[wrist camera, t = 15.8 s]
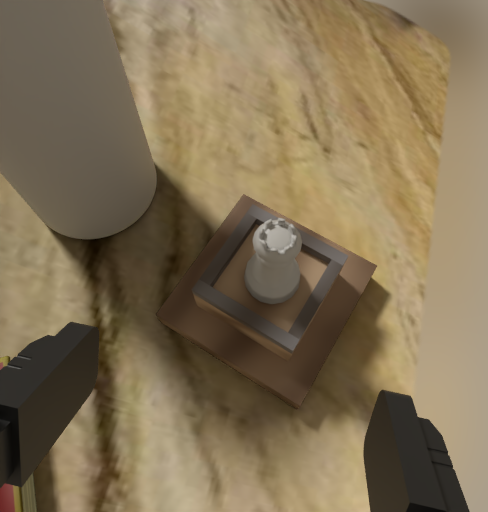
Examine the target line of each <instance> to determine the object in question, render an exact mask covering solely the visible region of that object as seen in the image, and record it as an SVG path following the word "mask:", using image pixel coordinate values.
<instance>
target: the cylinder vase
mask: <svg viewBox="0 0 488 512" xmlns="http://www.w3.org/2000/svg"><path fill="white" fill-rule="evenodd" d="M0 172H1V174H2V175H3V176H4V177H5V178H6V179H7V181H8V182H9V183H10V184H11V185H12V186H13V187H14V189H15V190H16V191H17V192H18V193H19V194H20V196H21V197H22V198H23V199H24V200H25V201H26V203H27V204H28V205H29V206H30V207H31V208H32V209H33V211H34V212H35V213H36V214H37V215H38V216H39V218H40V219H41V220H42V221H43V222H44V223H45V224H46V225H47V226H48V227H50V228H51V229H53V230H54V231H56V232H58V233H60V234H62V235H65V236H68V237H71V238H77V239H98V238H103V237H107V236H111V235H113V234H116V233H118V232H120V231H122V230H124V229H126V228H128V227H129V226H131V225H132V224H133V223H134V222H136V221H137V220H138V219H139V218H140V217H141V216H142V215H143V214H144V212H145V211H146V210H147V208H148V207H149V205H150V203H151V201H152V199H153V197H154V194H155V190H156V184H157V174H156V169H155V165H154V162H153V159H152V156H151V152H150V149H149V146H148V143H147V140H146V137H145V133H144V130H143V127H142V124H141V121H140V117H139V114H138V111H137V108H136V105H135V102H134V98H133V95H132V92H131V89H130V86H129V82H128V79H127V76H126V73H125V70H124V66H123V63H122V60H121V57H120V54H119V51H118V47H117V44H116V41H115V38H114V35H113V31H112V28H111V25H110V22H109V19H108V16H107V12H106V9H105V6H104V3H103V0H0Z"/></svg>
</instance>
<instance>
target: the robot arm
mask: <svg viewBox="0 0 488 512" xmlns="http://www.w3.org/2000/svg"><path fill="white" fill-rule="evenodd" d="M98 352H99V330H98V328H97V327H93V326H88V325H84V324H79V323H74V322H70V323H68V324H67V325H66V326H65V327H64V328H63V329H62V330H61V331H60V332H59V333H58V334H57V335H56V336H50V335H47V336H45V337H43V338H40V339H38V340H36V341H34V342H32V343H30V344H29V345H28V346H27V347H25V348H24V349H23V350H22V351H21V352H20V353H19V354H18V356H17V357H14V358H13V359H12V360H11V361H10V362H9V363H8V364H7V366H4V367H3V368H2V369H1V370H0V489H1V487H2V486H3V485H4V484H5V483H6V484H10V485H14V486H18V487H21V488H22V487H23V485H24V484H25V482H26V481H27V480H28V478H29V477H30V476H31V474H32V473H33V472H34V470H35V469H36V468H37V466H38V465H39V463H40V462H41V461H42V459H43V458H44V457H45V455H46V454H47V453H48V451H49V450H50V448H51V447H52V446H53V444H54V443H55V442H56V440H57V439H58V438H59V436H60V435H61V433H62V432H63V431H64V429H65V428H66V427H67V425H68V424H69V423H70V421H71V420H72V419H73V417H74V416H75V414H76V413H77V412H78V410H79V409H80V408H81V406H82V405H83V404H84V402H85V401H86V399H87V398H88V397H89V395H90V394H91V392H92V390H93V388H94V386H95V383H96V379H97V374H98ZM364 464H365V472H366V480H367V488H368V495H369V503H370V511H371V512H469V509H468V506H467V503H466V501H465V498H464V495H463V492H462V490H461V487H460V484H459V481H458V479H457V476H456V473H455V470H454V469H453V465H452V462H451V460H450V457H449V456H448V451H447V448H446V446H445V443H444V440H443V437H442V435H441V434H440V433H439V431H438V430H437V429H436V428H435V427H434V425H433V424H432V423H431V422H430V420H428V419H424V418H419V417H417V413H416V410H415V407H414V403H413V400H412V398H411V396H409V395H404V394H399V393H395V392H390V391H385V390H381V391H380V393H379V395H378V398H377V401H376V404H375V407H374V410H373V413H372V417H371V420H370V423H369V426H368V429H367V432H366V436H365V441H364Z"/></svg>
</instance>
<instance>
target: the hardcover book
mask: <svg viewBox="0 0 488 512" xmlns="http://www.w3.org/2000/svg"><path fill="white" fill-rule="evenodd" d="M9 362H10V357H9V356H6V357H2V358H0V370H1V369H2V368H3V367H4V366H7V364H8V363H9ZM0 512H37V507H36V497H35V487H34V477H33V473H32V474H31V476H30V477H29V478H28V480H27V481H26V482H25V484H24V485H23V487H22V488H21V487H18V486H14V485H10V484H6V483H5V484H4V485H3V486H2V487H1V489H0Z"/></svg>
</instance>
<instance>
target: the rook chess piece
mask: <svg viewBox="0 0 488 512" xmlns="http://www.w3.org/2000/svg"><path fill="white" fill-rule="evenodd" d="M301 245H302V240H301V235H300V233H299V232H298V230H297V229H296V228H295V226H294V225H293V224H290V223H288V222H286V219H283V218H278V220H271V219H270V220H268V221H266V222H265V223H264V224H262V225H260V226H259V227H258V229H257V230H256V231H255V233H254V237H253V246H254V250H255V251H256V253H255V254H254V255H253V256H252V257H251V259H250V260H249V261H248V262H247V266H246V270H245V274H244V280H245V285H246V288H247V289H248V291H249V292H250V294H251V295H252V296H253V297H254V298H256V299H257V300H259V301H260V302H264V303H268V304H277V303H283V302H285V301H286V300H288V299H289V298H291V297H292V296H293V295H294V294H295V292H296V291H297V289H298V287H299V282H300V270H299V265H298V263H297V261H296V260H295V257H296V256H297V255H298V253H299V252H300V250H301Z"/></svg>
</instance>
